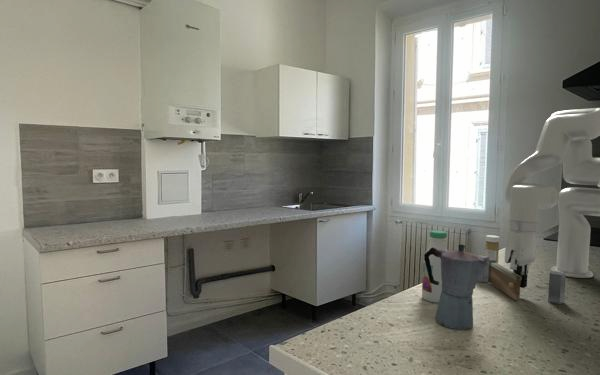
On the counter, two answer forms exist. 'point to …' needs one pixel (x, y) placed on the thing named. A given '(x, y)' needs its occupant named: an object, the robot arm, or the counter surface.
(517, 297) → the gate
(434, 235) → the milk bottle
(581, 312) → the counter surface
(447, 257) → the moka pot
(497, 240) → the sprinkles bottle
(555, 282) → the grey rectangular blocks
